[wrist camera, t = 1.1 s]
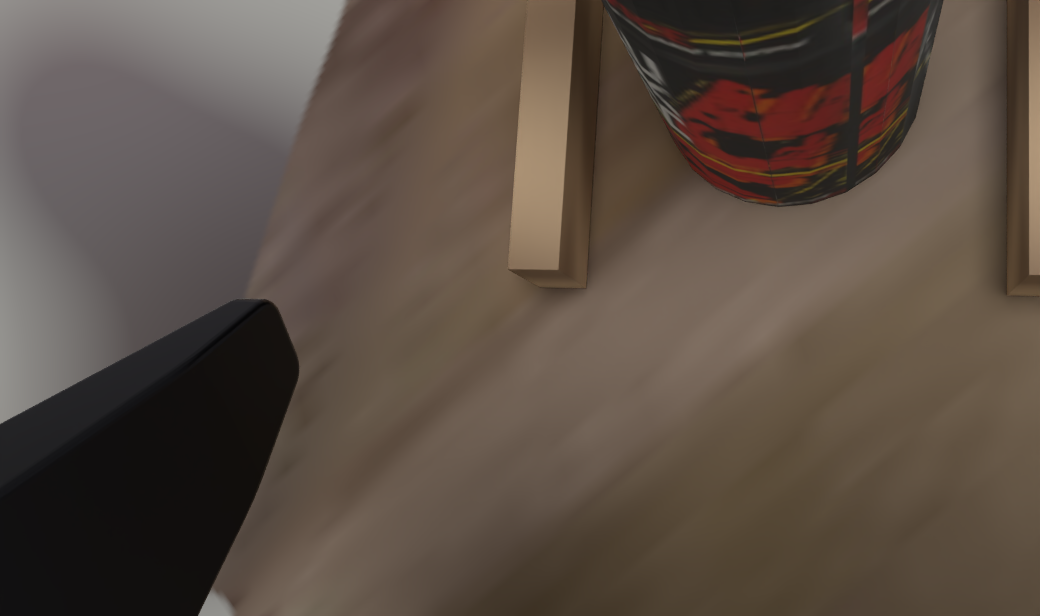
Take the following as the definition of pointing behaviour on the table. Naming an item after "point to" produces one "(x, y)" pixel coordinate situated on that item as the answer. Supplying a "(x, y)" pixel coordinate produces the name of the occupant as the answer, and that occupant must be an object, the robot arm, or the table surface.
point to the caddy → (572, 128)
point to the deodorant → (782, 87)
